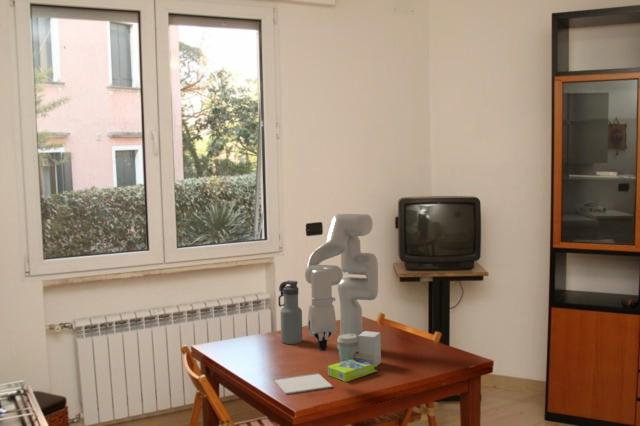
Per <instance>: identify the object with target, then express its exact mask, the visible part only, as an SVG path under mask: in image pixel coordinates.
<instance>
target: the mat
mask: <svg viewBox="0 0 640 426" xmlns="http://www.w3.org/2000/svg"><path fill="white" fill-rule="evenodd" d="M273 381H274V382H275V383H276V385H277V386H278V387H279V388H280V389H281V390H282V391H283V393H285V395H286V396H287V395H294V394H300V393H308V392H314V391H321V390H322V391H323V390H327V389H333V388H334V386H333V385H332V384H331V383H330V382H329V381H327V380H326V379H325V378H324V377H323V376H322V375H321V374H320V373H319V372H315V373H309V374H302V375H295V376H288V377H279V378H274V379H273Z"/></svg>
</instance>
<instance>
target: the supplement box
mask: <svg viewBox="0 0 640 426" xmlns="http://www.w3.org/2000/svg"><path fill="white" fill-rule="evenodd" d="M381 341H382V340H381V332H379V331H378V332H377V331H367V330H365V331H362V333H361V334H360V335H358V352H357V353H358V358H359V359H362V360H365V361H368V362H371V363H374V368H376V367H378V365H380V364H381V362H382V351H381V350H382V343H381Z"/></svg>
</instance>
